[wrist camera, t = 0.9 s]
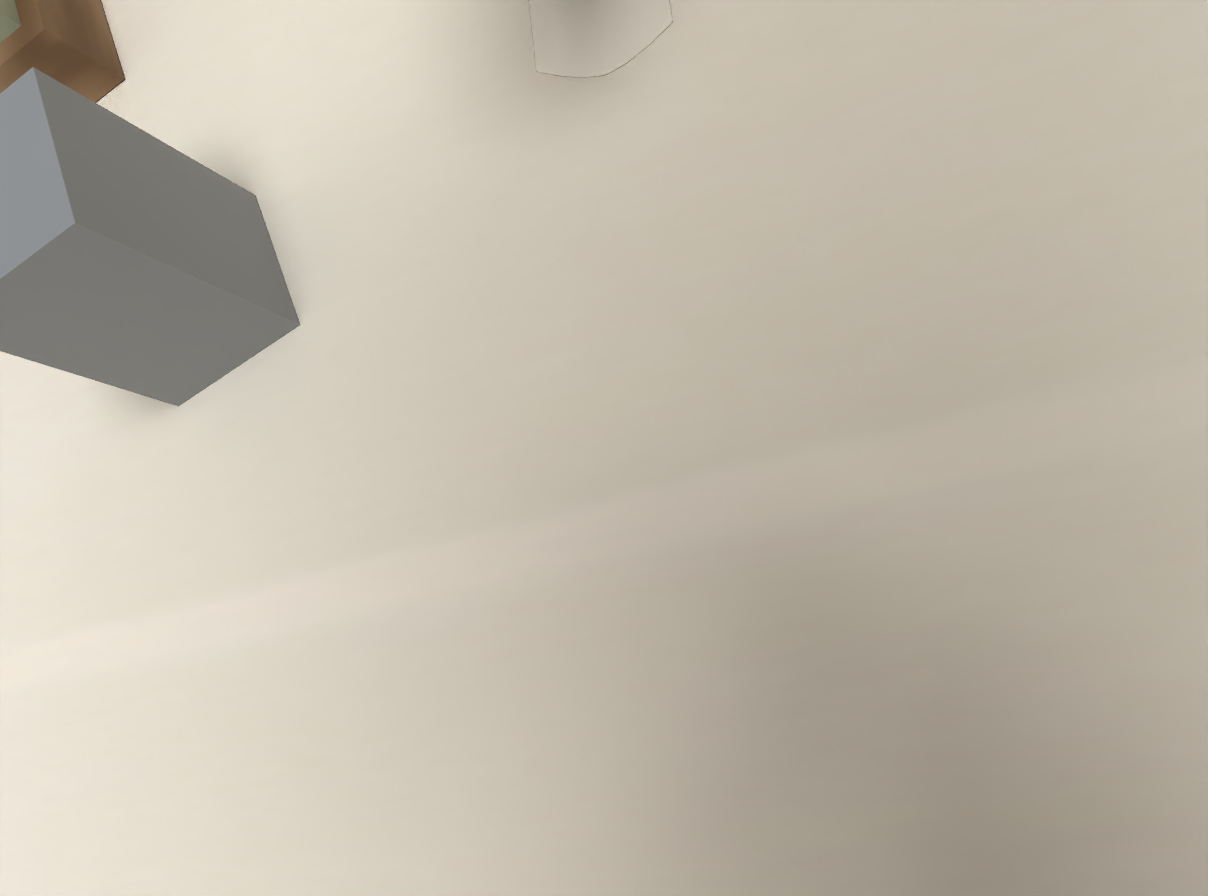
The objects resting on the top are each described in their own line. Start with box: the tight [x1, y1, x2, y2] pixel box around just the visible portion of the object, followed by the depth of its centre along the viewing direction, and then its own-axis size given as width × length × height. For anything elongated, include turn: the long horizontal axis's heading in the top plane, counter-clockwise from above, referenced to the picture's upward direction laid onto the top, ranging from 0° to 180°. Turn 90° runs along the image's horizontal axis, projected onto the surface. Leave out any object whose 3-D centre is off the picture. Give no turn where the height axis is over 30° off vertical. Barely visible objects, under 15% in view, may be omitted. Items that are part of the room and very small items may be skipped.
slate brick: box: [0, 67, 300, 406], centre depth 39 cm, size 6×6×10 cm
